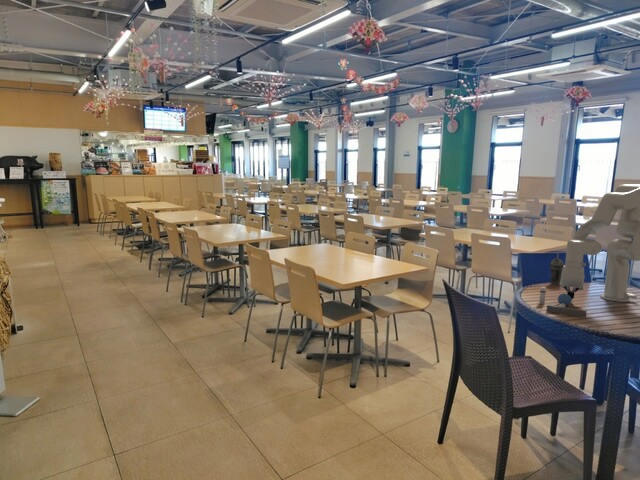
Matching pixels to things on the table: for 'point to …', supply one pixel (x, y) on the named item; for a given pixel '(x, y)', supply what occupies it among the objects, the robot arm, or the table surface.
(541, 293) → the grey pin
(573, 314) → the back wall
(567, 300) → the ball
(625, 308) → the table surface
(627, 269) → the robot arm
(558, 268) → the beverage cup
